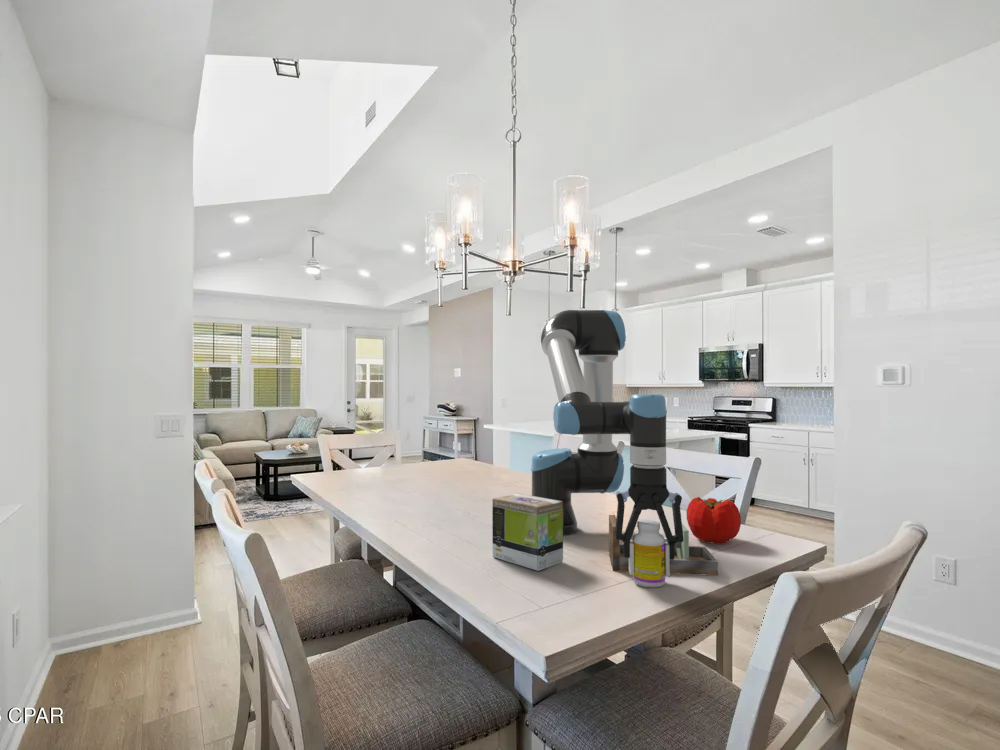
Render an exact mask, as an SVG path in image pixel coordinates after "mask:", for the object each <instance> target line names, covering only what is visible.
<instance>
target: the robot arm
mask: <svg viewBox="0 0 1000 750" xmlns="http://www.w3.org/2000/svg"><path fill="white" fill-rule="evenodd" d="M626 337H627V335H626V327H625V323H624V320H623V318H622V316H621V314H620V313H619V312H618V311H616V310H615V311H614V310H607V309H606V310H605V309H601V310H598V309H597V310H596V309H595V310H594V309H592V310H591V309H581V310H578V309H566V310H562V311H560V312H558V313H556V314H555V315H553V316H552V317H550V318H549V320H548V321H547V322H546V323H545V325H544V327H543V329H542V332H541V334H540V344H541V348H542V351H543V353H544V354H545V356H547V358H548V363H549V366H550V371H551V374H552V378H553V383H554V386H555V387H554V388H555V390H556V395H557V398H558V402H556V403H555V405H554V406H553V412H552V413H553V414H552V415H553V417H552V418H553V426H554V430H555V432H556V433H558V434H560V435H561V434H562V435H571V436H575V435H582V441H581V442H580V444H579V445H577V453H572V451H571V448H565V447H564V448H562V447H560V448H549V449H544V450H541V451H540V450H539V451H537V452H536V453H534V454H533V456H532V458H531V468H530V471H531V496H536V497H542V498H547V499H553V500H559V501H563V536H568V535H573V534H575V533H576V532H577V531H578V522H577V521H578V520H577V519H576V514H575V512H574V508H573V506H572V494H605V493H614V492H616V491H617V492H616V493H615V496H616V497H615V498H616V499H617V506H616V507H617V508H616V528H615V536H616V539H617V540H620V542H623V544H624V556H625V558H629V571H628V573H629V575H632V576H633V575H634V544H633V536H634V532H635V529H636V527H637V522H638V521H639V518H640V515H641V513H642V511H647V510H651V511H656V513H657V516H658V519H659V521H660V522H659V523H660V526H661V527H662V530H663V532H664V537H666V538H667V542H665V577H670V575H671V573H670V564H669V559H672V560H674V545H675V544H676V543H678V542H683V540H684V539H683V530H682V524H683V522H682V513H681V504H682V500H683V497H682V496H681V494H679V493H678V492H675V493H674V492H669V489H668V487H667V486H668V485H667V481H668V480H667V468H666V467H665V465H667V414H668V413H667V410H668V409H667V405H666V404H667V403H666V397H665V396H664V395H663V394H658V393H657V394H656V393H655V394H654V393H652V394H651V393H649V394H648V393H647V394H645V393H644V394H643V393H640V394H639V393H637V394H636V393H635V394H632V395H631V396H630V397H629V401H627V400H626V401H625V400H624V401H613V391H614V390H613V385H614V384H613V383H614V382H613V381H614V370H613V369H614V361H615V360H616V359H617V358H618V357H619V352H620V351H622V350H623V349H624V348H625V346H626V339H627V338H626ZM576 350H577V351H578V356H577V353H576ZM579 358H580V360H582V363H583V372H582V369H581V365H580V362H579V360H578V359H579ZM613 435H629V440H630V441H629V444H630V445H629V449H630V450H629V457H630V458H629V461H630V462H629V463H630V464H632V465H631V466H630V468H629V471H630V472H629V474H630V476H629V477H630V478H629V479H630V482H629V483H630V485H629V488H627V489H628V490H626V491H618V490H619V488H620V487H621V485H622V483H623V479H624V474H625V471H624V470H625V464H624V457H623V455H622V454H621V453H620V452H618V448H617V446H616V445H615V444H614V443H613ZM628 497H629V498H631V500H632V501H633V502H634V504H633V507H632V512H631V513H630V517H629V520H628V522H627V525H626V528H625V530H624V533H623V528H624V516H625V507H626V505H625V503H627V501H628ZM667 499H669V502H670V503H671V508H672V518H673V519H672V520H673V526H674V527H673V529H674V535H673V533H672V531H671V528H670V525H669V522H668V519H667V516H666V514H665V511H664V508H663V504H664V503H665V502H666V501H667Z"/></svg>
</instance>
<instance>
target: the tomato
mask: <svg viewBox="0 0 1000 750" xmlns="http://www.w3.org/2000/svg"><path fill="white" fill-rule="evenodd" d="M741 518H742V517H741V513H740V509H739V508H738V507H737V504H735V502H734V501H732V500H731V499H720V500H717V499H716V498H712V497H708V498H707V499H705V498H701V497H700V496H697V497H694V498H692V499H691V500H690V502H689V503H688V504H687V509H686V521H687V525H688V528H689V529H690V531H691V533H692V536H694V537H695V538H696V539H698V540H699V541H702V542H704V543H707V544H716V545H721V544H723V545H724V544H725V543H728V542H729V541H730V540H732V539H734V538H736V537H737V535H738V534H739V532H740V530H741V527H742V526H741V525H742V519H741Z"/></svg>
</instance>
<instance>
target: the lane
mask: <svg viewBox="0 0 1000 750" xmlns="http://www.w3.org/2000/svg"><path fill="white" fill-rule="evenodd" d="M616 517H617V515H616V514H608V556H609V560H610V564H611V565H610V566H611V567H612V571H613V572H614V571H615V572H629V558H625V556H624V543H620V542H621V540H617V539H616V536H615V528H616ZM669 564H670V574H676V573H680V574H681V575H698V574H705V576H719V561H718V560H717V559H716V558H715V556H713V554H712V553H711V552H710V551H709V549H707V547H706V546H697V545H695V546H693V545H689V559H679V557H678V556H677V554H676V548H674V560H672V559H669ZM680 574H679V575H680Z"/></svg>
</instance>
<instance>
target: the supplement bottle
mask: <svg viewBox="0 0 1000 750" xmlns="http://www.w3.org/2000/svg"><path fill="white" fill-rule="evenodd" d="M636 527H637V529H638V531H637V532H635V533H633V535H632V541H633V544H634V575H632V580H633V582H634V583H635V584H636V585H639V586H641V587H645V588H659V587H663V586H664V585H665V583H666V576H665V540H664V537H665V536H663V535H662V534H661V533H660V530H661V522H659V521H657V520H654V519H653V520H652V519H638V521H637V524H636Z"/></svg>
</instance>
